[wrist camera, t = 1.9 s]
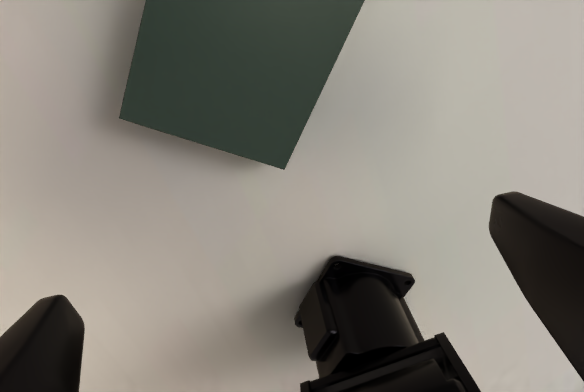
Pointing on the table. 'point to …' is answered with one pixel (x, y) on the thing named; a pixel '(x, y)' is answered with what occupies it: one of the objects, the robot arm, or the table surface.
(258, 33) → the notebook
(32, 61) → the table surface
